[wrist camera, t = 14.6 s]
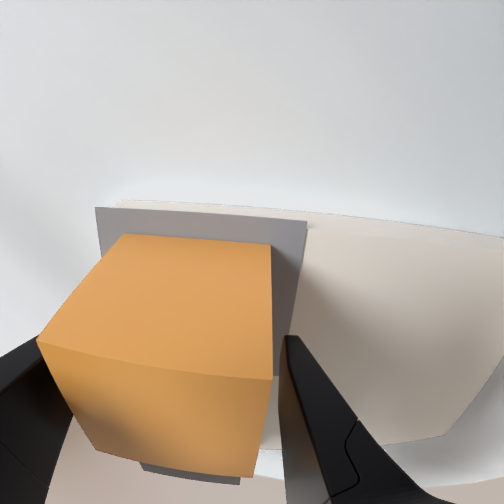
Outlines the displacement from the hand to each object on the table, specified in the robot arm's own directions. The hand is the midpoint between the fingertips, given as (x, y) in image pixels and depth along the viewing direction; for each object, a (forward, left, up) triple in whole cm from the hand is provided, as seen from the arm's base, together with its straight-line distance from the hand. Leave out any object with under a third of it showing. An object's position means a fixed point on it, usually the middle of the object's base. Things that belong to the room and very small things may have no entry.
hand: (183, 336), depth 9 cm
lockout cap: (0, 0, -2) cm, 2 cm away
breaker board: (-6, +4, -3) cm, 8 cm away
